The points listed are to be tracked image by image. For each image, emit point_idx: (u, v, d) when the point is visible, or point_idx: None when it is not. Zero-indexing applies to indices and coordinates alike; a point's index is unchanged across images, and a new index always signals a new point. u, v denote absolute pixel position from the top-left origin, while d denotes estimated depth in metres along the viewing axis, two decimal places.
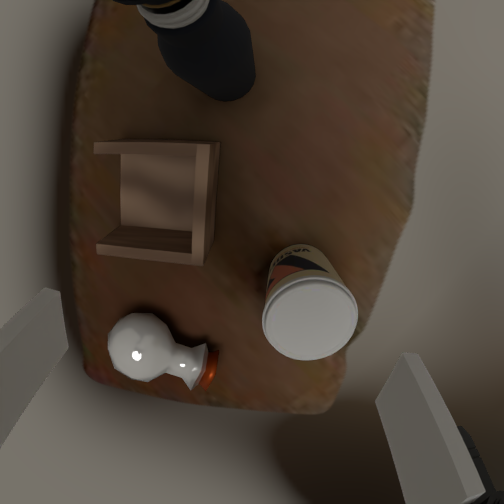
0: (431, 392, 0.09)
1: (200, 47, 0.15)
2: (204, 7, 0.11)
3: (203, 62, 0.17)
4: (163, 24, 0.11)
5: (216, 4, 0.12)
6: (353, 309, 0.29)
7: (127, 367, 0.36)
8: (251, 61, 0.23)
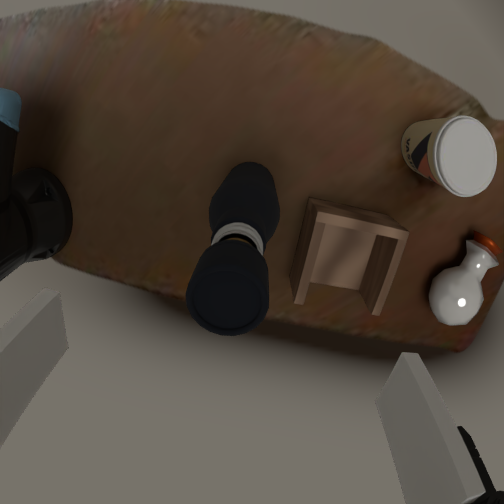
0: (431, 392, 0.09)
1: (265, 224, 0.24)
2: (251, 227, 0.21)
3: (272, 221, 0.26)
4: None
5: (244, 217, 0.21)
6: (463, 120, 0.27)
7: (468, 312, 0.39)
8: (256, 173, 0.32)
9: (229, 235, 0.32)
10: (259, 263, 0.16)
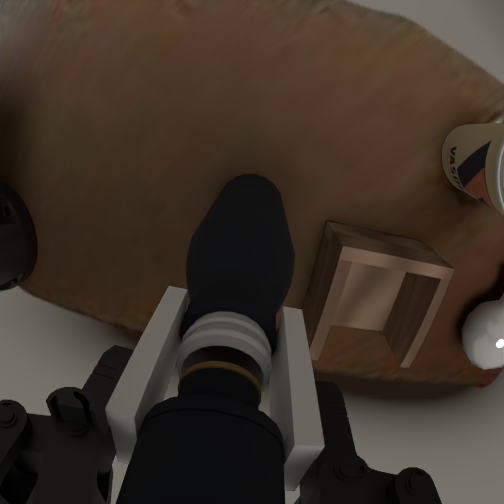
0: (297, 342, 0.11)
1: (275, 296, 0.14)
2: (249, 326, 0.11)
3: (285, 283, 0.16)
4: None
5: (237, 300, 0.11)
6: None
7: None
8: (258, 196, 0.22)
9: None
10: (266, 462, 0.06)
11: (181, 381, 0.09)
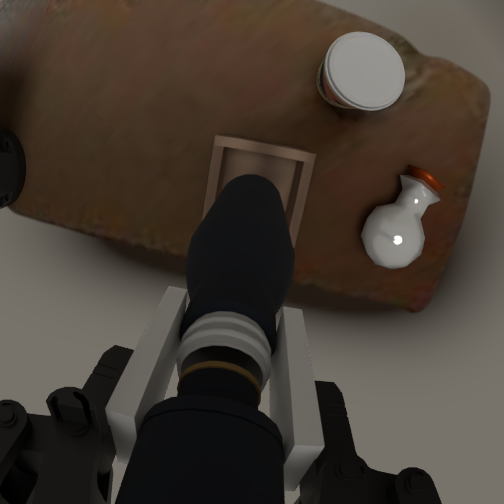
0: (297, 342, 0.11)
1: (274, 296, 0.14)
2: (249, 325, 0.11)
3: (285, 283, 0.16)
4: None
5: (236, 300, 0.11)
6: (356, 34, 0.27)
7: (404, 249, 0.39)
8: (258, 196, 0.22)
9: None
10: (266, 463, 0.06)
11: (180, 381, 0.09)
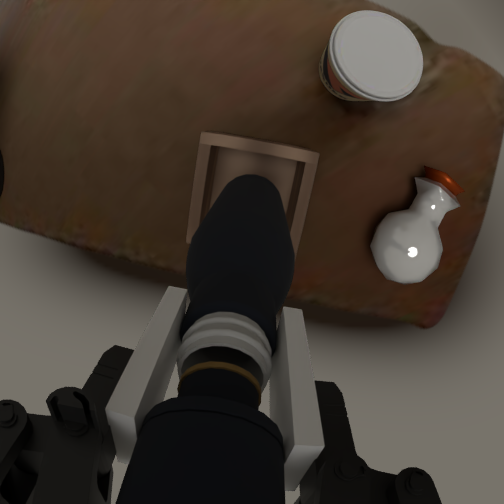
0: (297, 342, 0.11)
1: (275, 297, 0.14)
2: (249, 326, 0.11)
3: (285, 283, 0.16)
4: None
5: (237, 301, 0.11)
6: (365, 12, 0.21)
7: (420, 263, 0.33)
8: (258, 196, 0.22)
9: None
10: (266, 463, 0.06)
11: (181, 382, 0.09)
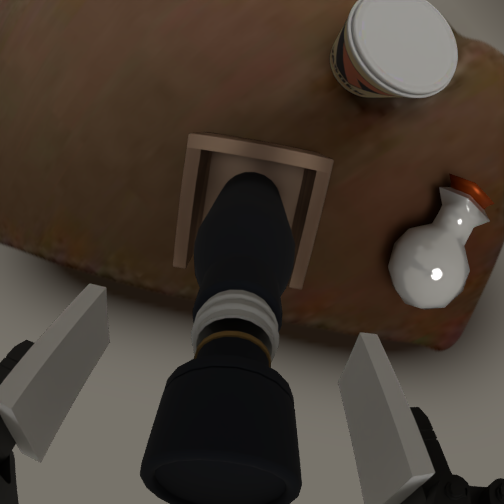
0: (385, 370, 0.10)
1: (279, 280, 0.16)
2: (258, 301, 0.12)
3: (288, 269, 0.17)
4: None
5: (246, 279, 0.13)
6: None
7: (446, 288, 0.28)
8: (260, 191, 0.23)
9: None
10: (282, 413, 0.07)
11: (197, 351, 0.10)
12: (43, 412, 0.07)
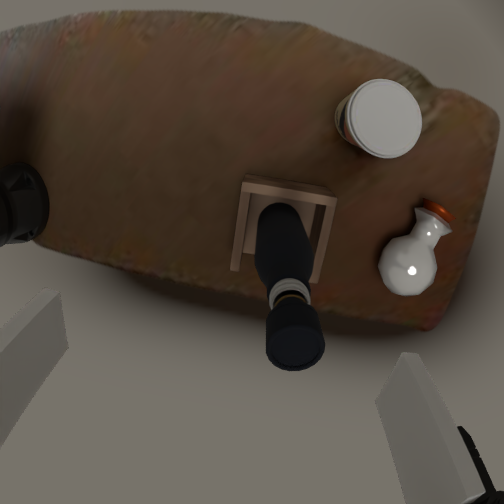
0: (431, 392, 0.09)
1: (307, 274, 0.30)
2: (300, 283, 0.26)
3: (311, 269, 0.31)
4: None
5: (294, 273, 0.27)
6: (376, 83, 0.30)
7: (418, 280, 0.41)
8: (290, 221, 0.37)
9: None
10: (316, 319, 0.21)
11: (276, 304, 0.24)
12: None
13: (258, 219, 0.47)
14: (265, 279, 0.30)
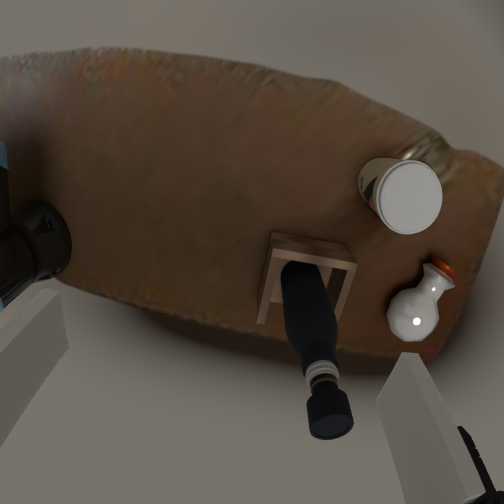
0: (431, 392, 0.09)
1: (334, 349, 0.34)
2: (332, 365, 0.30)
3: (336, 341, 0.35)
4: (334, 378, 0.30)
5: (326, 356, 0.31)
6: (406, 166, 0.34)
7: (421, 331, 0.45)
8: (317, 289, 0.41)
9: None
10: (347, 403, 0.25)
11: (313, 385, 0.28)
12: None
13: (281, 273, 0.51)
14: (299, 352, 0.34)
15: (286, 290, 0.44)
